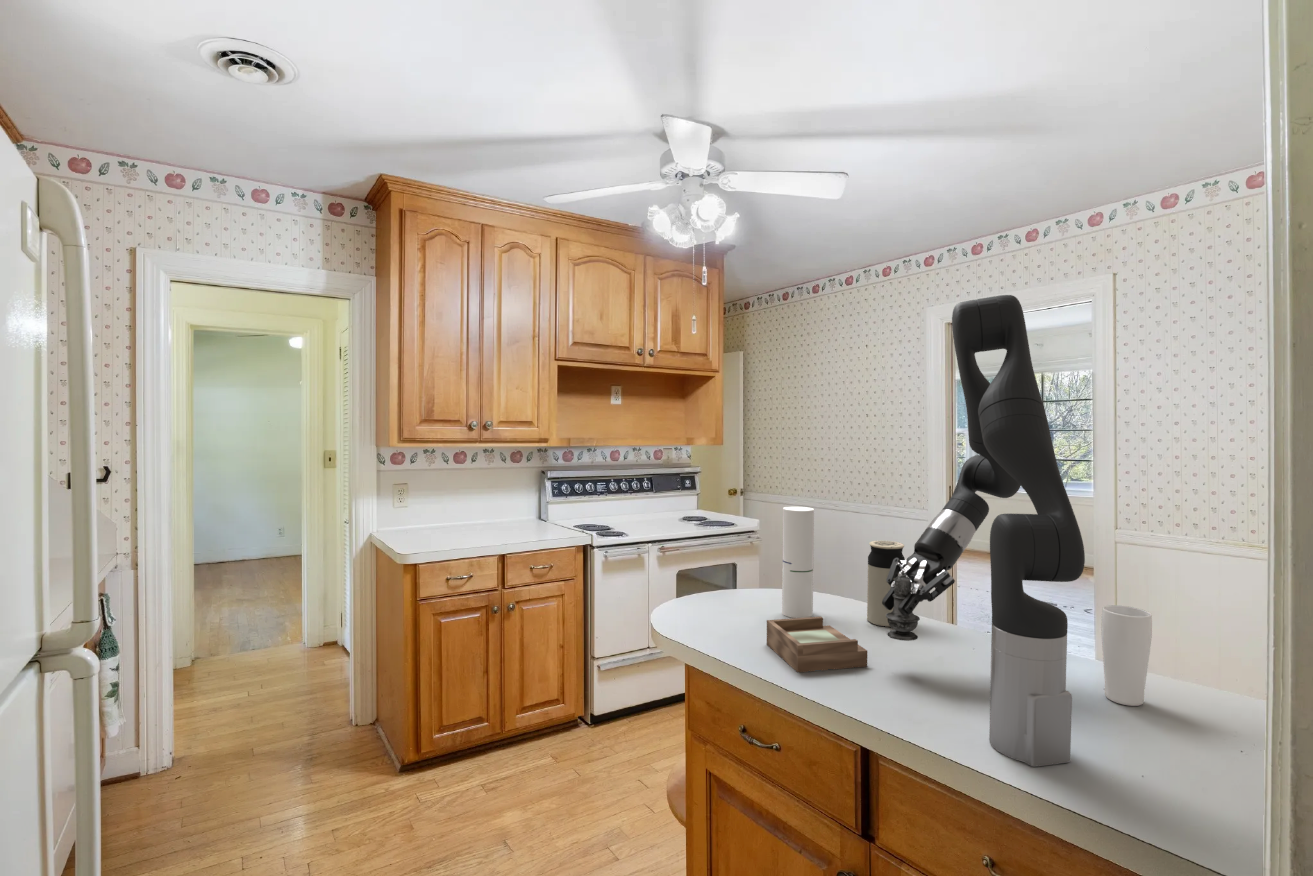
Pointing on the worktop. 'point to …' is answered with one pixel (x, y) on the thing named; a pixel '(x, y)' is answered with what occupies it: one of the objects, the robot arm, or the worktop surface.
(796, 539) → the cylindrical container
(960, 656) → the worktop surface
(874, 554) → the travel mug
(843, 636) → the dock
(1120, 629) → the drinking glass
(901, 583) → the salt shaker
